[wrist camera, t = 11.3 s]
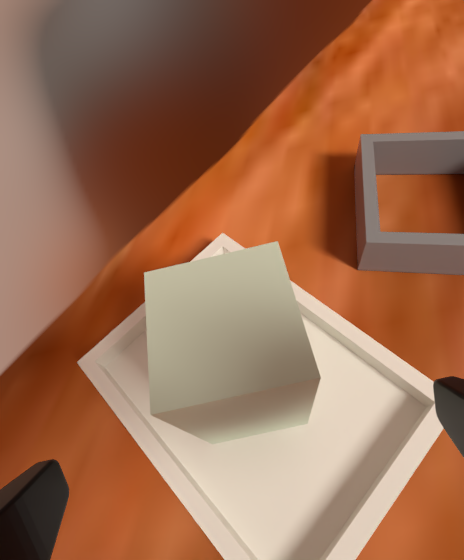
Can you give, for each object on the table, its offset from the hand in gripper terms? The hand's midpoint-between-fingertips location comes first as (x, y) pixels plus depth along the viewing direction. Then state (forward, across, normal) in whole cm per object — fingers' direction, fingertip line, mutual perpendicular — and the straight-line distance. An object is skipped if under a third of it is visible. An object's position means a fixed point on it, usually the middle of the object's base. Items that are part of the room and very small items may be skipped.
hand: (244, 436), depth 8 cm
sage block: (+10, 0, +5) cm, 11 cm away
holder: (+17, -14, -1) cm, 22 cm away
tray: (+10, 0, +5) cm, 12 cm away
